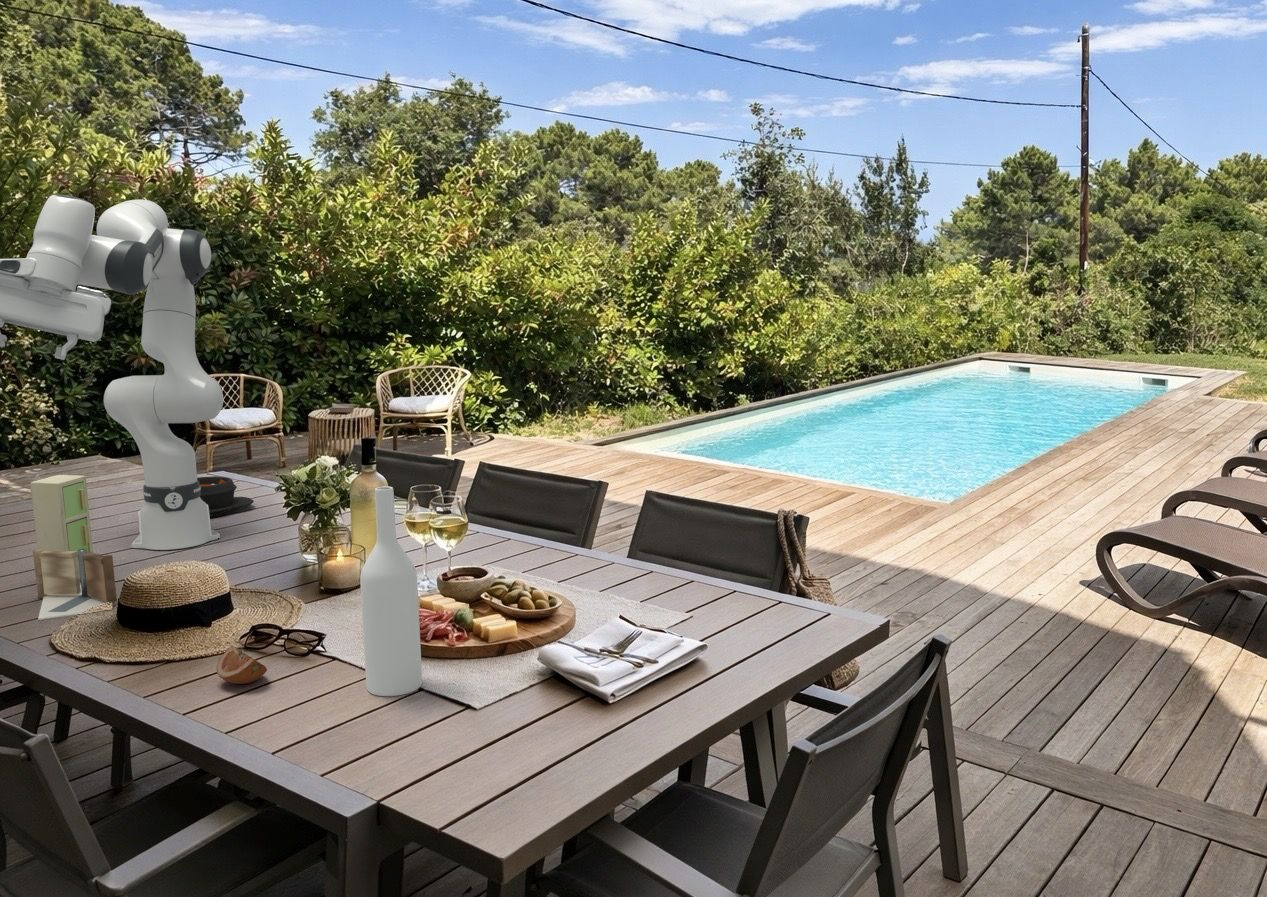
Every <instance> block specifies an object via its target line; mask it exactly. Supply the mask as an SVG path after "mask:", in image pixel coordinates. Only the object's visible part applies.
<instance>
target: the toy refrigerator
mask: <svg viewBox="0 0 1267 897" xmlns="http://www.w3.org/2000/svg"><path fill="white" fill-rule="evenodd" d="M29 487H30V495H31V503H32V514H33V520H34V523H33V524H34V529H35V530H34V531H35V532H34V533H35V538H36V539H35V541H36V549H42V551H77V550H79V549H87V553H91V552H92V553H94V547H93V546H94V545H93V538H92V526H91V517H90V504H89V497H88V496H89V494H88V485H87V477H86V476H85V475H77V474H75V475H72V474H57V475H52V476H48V477H45V478H42V479H38V480H34V481H31V482H30V486H29ZM77 559H78V556H77ZM78 569H79V561H78ZM79 579H80V571H79Z"/></svg>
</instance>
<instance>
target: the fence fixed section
mask: <svg viewBox="0 0 1267 897" xmlns="http://www.w3.org/2000/svg"><path fill="white" fill-rule="evenodd" d="M86 553H87V549H79V550H77V551H42V549H37V548H34V549H32V556H33V563H34V565H33V566H34V572H35V573H34V574H35V583H36V591H37V599H39V598H42V599H43V597H45V596H47V594H61V595H78V594H80V593H81V590H82V597H90V596H88V594H87V584H86V574H85V564H84V560H82V554H86ZM77 556H78V559H77ZM78 561H79V569H78ZM79 571H80V579H79ZM80 584H81V588H80Z"/></svg>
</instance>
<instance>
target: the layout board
mask: <svg viewBox="0 0 1267 897" xmlns="http://www.w3.org/2000/svg"><path fill="white" fill-rule="evenodd" d="M80 588H81V583H80ZM106 602H107V601H104V600H100V599H97V598H93V597H82V590H81V593H80V594H78V595H61V594H47V596H45V597H43V598H42V602H41V604H40V610H39V613H38V618H37V620H38V621H42V620H49V619H58V618H64V617H73V616H78V615H77V614H79V613H82V612H84V611H85V610H87V609H90V608H92V607H94V606H96V605H100V604H103V603H106Z"/></svg>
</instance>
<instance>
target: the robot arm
mask: <svg viewBox="0 0 1267 897" xmlns="http://www.w3.org/2000/svg"><path fill="white" fill-rule="evenodd" d="M40 211H41V212H40V214H39V216H38V219H37V222H36V224H35V228H34V231H33V234H32V235H33V236H32V237H33V242H32V246H31V248H30V249H29V251H28V253H27V255H26V257H25V258H0V328H4V324H5V323H7V324H10V325H16V326H18V327H20V326H21V327H24V328H29V329H35V330H38V331H43V332H47V333H51V334H56V335H60V336H66V339H67V342H66V343H65V344H64V345H63V346H56V348H55V352H54V358H55V359H59V360H62V361H64V360H65V359H66V357H67V353H68V352H69V351H70V350H71V349H72V348H74V346H76V345H77V343H78V340H84V341H88V342H92V343H93V342H94V343H96V342H98V341H99V340H100V339H101V338H102V336H103V330H104V324H105V323H104V322H105V316H106V315H108V314H109V312H110V310H111V306H112V299H111V297H109V295H107V294H106V292H105V291H102V290H97V289H96V290H95V289H91V288H89V287H92V288H98V289H105V290H109V291H115V292H117V293H122V294H127V295H131V296H133V295H137V294H138V293H140V292H142V291H143V290H145V289H146V288H147V289H146V294H145V296H144V297H145V298H144V304H143V312H142V313H143V314H142V327H141V342H140V343H141V347H142V349H143V352H145V354H146V355H148V357H151V358H152V359H154V360H156V361H158V362H160V363H162V364H163V366H164V372H163V374H159V375H157V374H155V375H154V374H152V375H151V374H150V375H130V376H124V377H121V378H117V379H113V380H112V381H111V382H110V383H108V385H107V387H106V389H105V391H104V394H103V405H104V408H105V410H106V412H107V414H108V415H109V417H110V418H112V419H113V421H115V422H117V423H119V424H120V425H121V426H122V427H124V429H126V430H127V432H129V434H130V435H131V436H132V438H133V439H134V441H135V443H136V445H137V448H138V450H139V452H140V453H139V454H140V457H141V462H142V467H143V477H144V485H143V487H142V488H143V490H142V494H143V501H145V502H144V505H143V506H142V507H141V508H140V510H138V514H137V524H138V525H139V526H138V533H139V534H138V536H137V537H135V539H134V540H133V541H132V543H131V548H132V549H146V550H152V551H153V550H154V551H159V550H160V551H168V550H179V549H187V548H191V547H196V546H201V545H203V544H207V543H208V542H210V541H211V542H212V541H215V540H219V539H221V534H220V533H219V532H218V531H216V530H215V529H212V526H211V518H210V517H211V516H209V507H208V504H206V503H205V502H204V501H202V500H201V498H200V495H201V492H200V490H201V487H200V483H199V481H198V480H197V477H198V474H197V473H198V472H197V460H196V452H195V449H194V448H193V446H192V445H191V444H190V443H189V442H188V441H186V440H184V439H182V438H179V437H177V436H176V435H175V434H174V433H173V432H172V430H171V428H170V426H169V424H194V423H195V424H196V423H199V422H206V421H209V420H213V419H216V418H217V416H218V415H219V413H220V412H221V411H222V409H223V405H224V394H223V389H222V388H221V386H220V384H219V383H218V382H217V381H216V379H214V378H213V377H211V376H210V375H209V374H208V373H207V372H206V371H205V370H204V368H203V367H202V365H201V364H200V362H199V359H198V357H197V353H196V316H197V314H196V307H197V306H196V295H195V288H194V285H195V284H198V282H199V280H200V279H201V278H203V277H204V276H205V275H206V273H207V272H208V271H209V269H210V266H211V261H212V250H211V245H210V242H209V240H208V238H207V237H206V235H204V233H202V231H198V230H195V229H194V230H193V229H189V228H186V229H177V228H168V226H169V220H168V217H167V214H166V212H165V210H163V208H162V207H161V206H160V205H158V203H155V202H154V201H153V200H152V201H151V200H149V199H144V198H143V199H131V200H126V201H122V202H119V203H117V204H115V205H113V206H111V207H109V208H108V209H106V210H104V212H103V213H102V214H101V215H100V216H99V219H98V221H97V223H96V234H93V229H94V224H95V223H94V222H95V216H96V215H95V212H96V208H95V205H93V204H92V203H91V202H89V200H85V199H84V198H79V197H77V196H74V195H73V196H72V195H68V194H60V193H59V194H58V193H57V194H52V195H50V196H49V197H48V198H47V200H46V202H45V203H44V205H43V207H42V209H41V210H40ZM81 285H82V286H81ZM7 341H8V337H7V335H5V334H2V333H1V331H0V347H1V348H5V346H6V342H7ZM218 538H219V539H218Z"/></svg>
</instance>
